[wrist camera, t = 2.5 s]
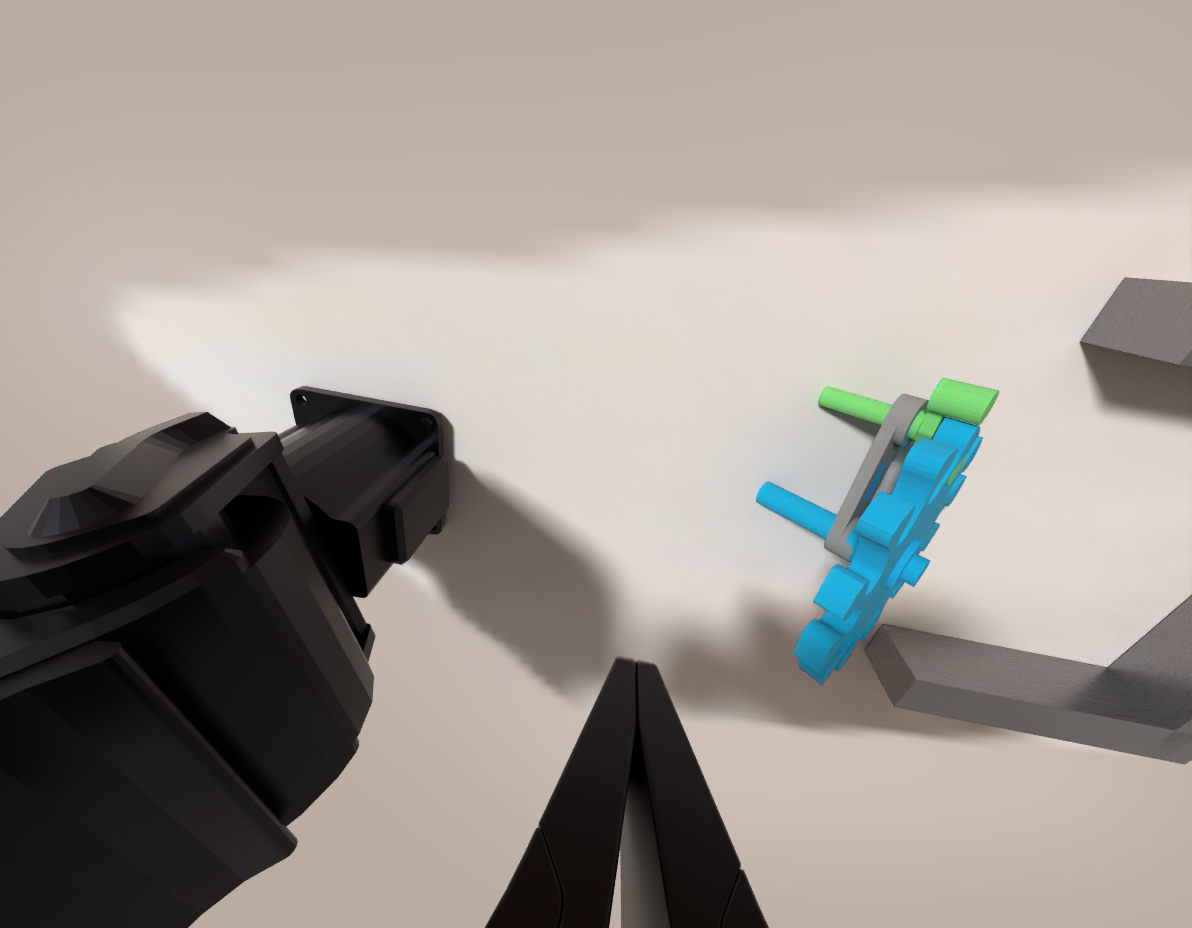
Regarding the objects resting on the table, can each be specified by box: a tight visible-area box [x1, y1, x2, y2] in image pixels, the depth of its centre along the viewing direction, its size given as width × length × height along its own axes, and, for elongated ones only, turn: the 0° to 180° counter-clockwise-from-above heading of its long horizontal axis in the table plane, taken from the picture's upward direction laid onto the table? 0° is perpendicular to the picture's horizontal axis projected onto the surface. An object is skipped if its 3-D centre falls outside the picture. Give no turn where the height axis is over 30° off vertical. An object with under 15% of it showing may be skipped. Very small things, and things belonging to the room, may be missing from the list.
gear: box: [756, 378, 999, 685], centre depth 16 cm, size 11×6×10 cm
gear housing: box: [864, 277, 1192, 764], centre depth 16 cm, size 13×18×3 cm
